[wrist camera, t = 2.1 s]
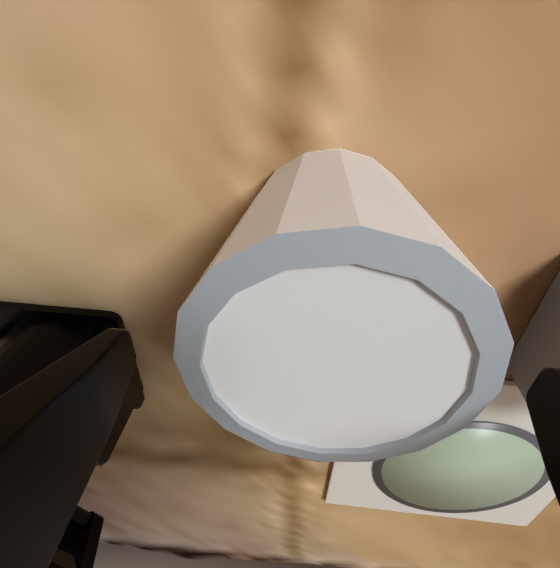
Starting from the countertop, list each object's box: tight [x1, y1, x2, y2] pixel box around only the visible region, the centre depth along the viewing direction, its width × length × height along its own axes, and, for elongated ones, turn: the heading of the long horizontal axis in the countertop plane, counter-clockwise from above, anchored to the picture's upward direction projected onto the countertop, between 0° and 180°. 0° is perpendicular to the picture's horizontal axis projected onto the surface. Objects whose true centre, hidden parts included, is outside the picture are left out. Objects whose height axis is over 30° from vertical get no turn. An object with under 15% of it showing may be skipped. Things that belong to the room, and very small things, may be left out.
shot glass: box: [173, 148, 514, 462], centre depth 10 cm, size 7×7×7 cm
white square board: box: [325, 380, 556, 526], centre depth 20 cm, size 13×13×1 cm
